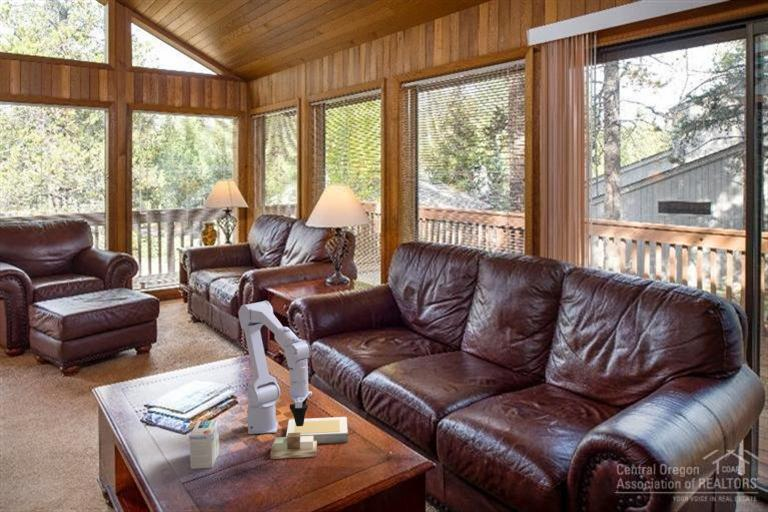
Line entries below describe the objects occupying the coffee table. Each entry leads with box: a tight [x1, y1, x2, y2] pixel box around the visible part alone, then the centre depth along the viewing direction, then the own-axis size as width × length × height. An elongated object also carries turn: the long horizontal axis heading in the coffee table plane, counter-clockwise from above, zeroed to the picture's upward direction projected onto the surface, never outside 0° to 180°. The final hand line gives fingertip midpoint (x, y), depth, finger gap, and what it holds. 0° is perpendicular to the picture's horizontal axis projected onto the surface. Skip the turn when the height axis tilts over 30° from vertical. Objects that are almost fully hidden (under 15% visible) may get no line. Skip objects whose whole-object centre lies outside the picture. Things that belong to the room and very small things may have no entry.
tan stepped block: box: [270, 433, 318, 460], centre depth 182 cm, size 14×7×6 cm, turn 95°
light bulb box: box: [188, 419, 220, 469], centre depth 177 cm, size 11×7×11 cm, turn 5°
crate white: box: [300, 436, 314, 450], centre depth 182 cm, size 4×4×2 cm
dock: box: [285, 416, 349, 445], centre depth 194 cm, size 20×14×3 cm
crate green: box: [273, 436, 287, 451], centre depth 181 cm, size 4×4×2 cm
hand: (300, 420), depth 183 cm, fingers open, 7 cm apart
